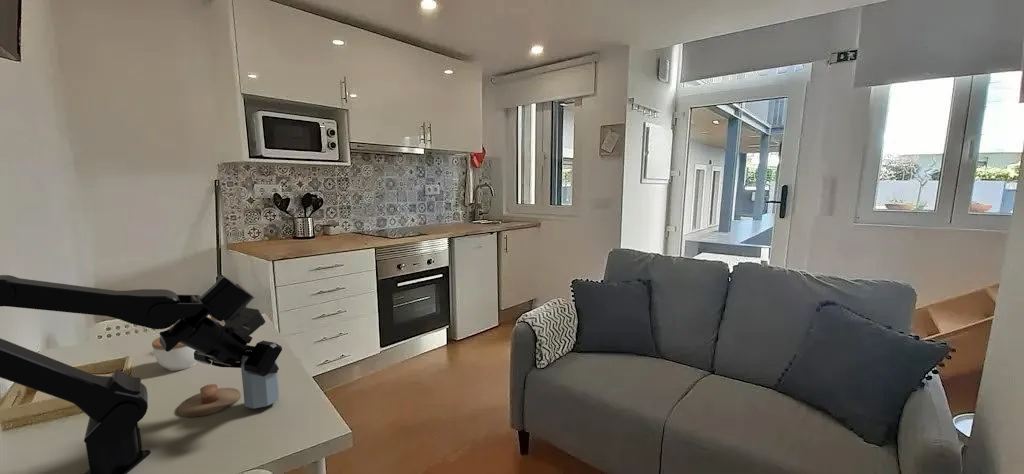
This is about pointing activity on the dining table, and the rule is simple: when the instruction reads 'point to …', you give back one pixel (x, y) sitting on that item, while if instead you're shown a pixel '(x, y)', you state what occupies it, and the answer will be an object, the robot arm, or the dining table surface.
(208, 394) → the brown pegged disc
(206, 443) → the dining table surface
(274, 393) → the blue dome cap nut
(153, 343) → the lidded jar
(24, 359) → the robot arm
